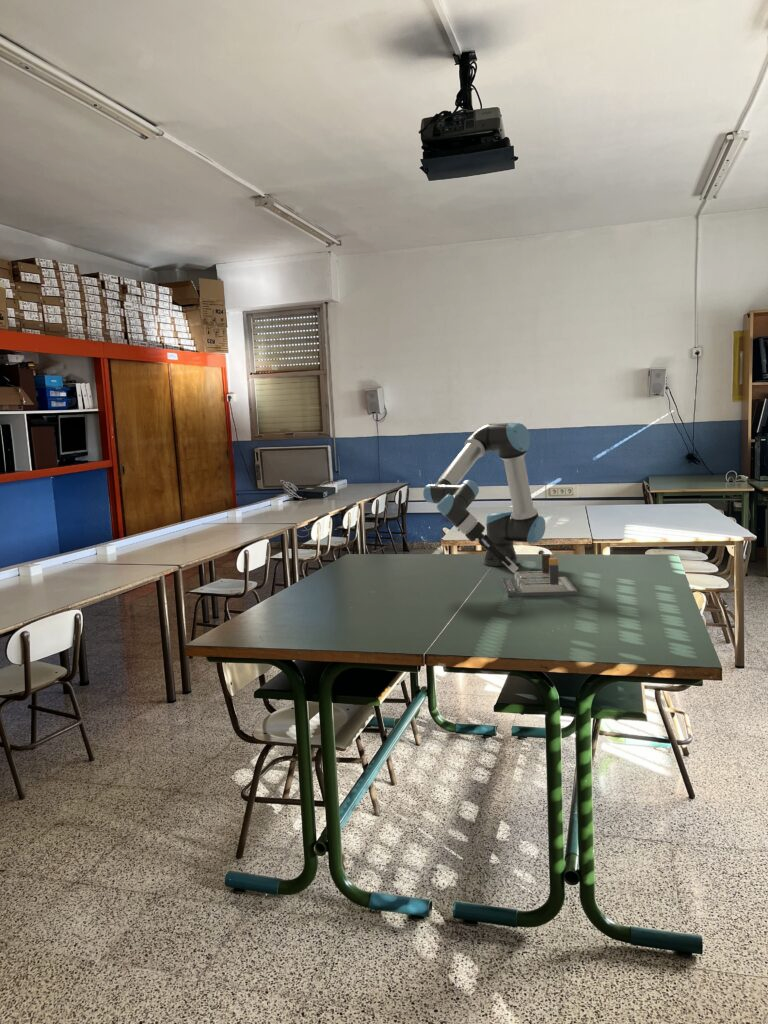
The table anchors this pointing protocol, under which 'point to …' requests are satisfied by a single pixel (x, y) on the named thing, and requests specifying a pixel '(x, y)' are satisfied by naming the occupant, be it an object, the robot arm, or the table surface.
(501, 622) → the table surface
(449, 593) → the table surface
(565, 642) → the table surface
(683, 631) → the table surface
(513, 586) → the breaker panel
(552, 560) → the breaker handle
